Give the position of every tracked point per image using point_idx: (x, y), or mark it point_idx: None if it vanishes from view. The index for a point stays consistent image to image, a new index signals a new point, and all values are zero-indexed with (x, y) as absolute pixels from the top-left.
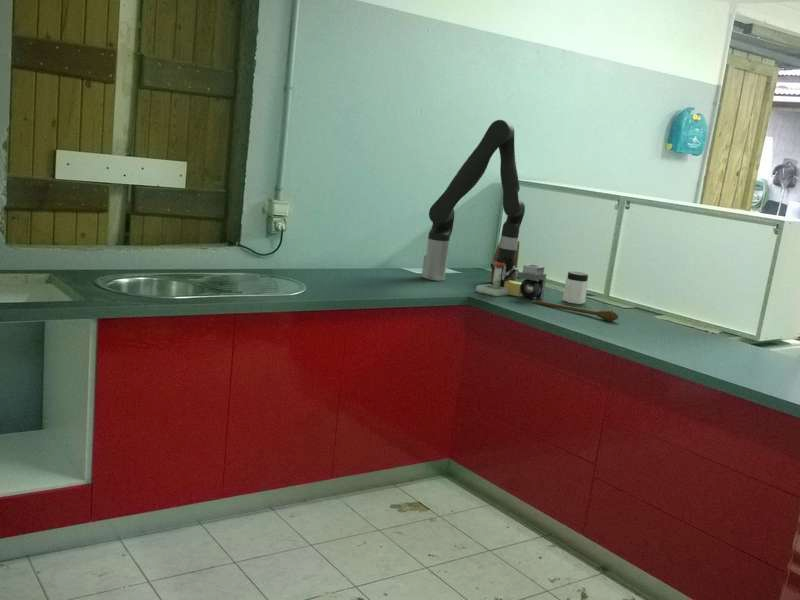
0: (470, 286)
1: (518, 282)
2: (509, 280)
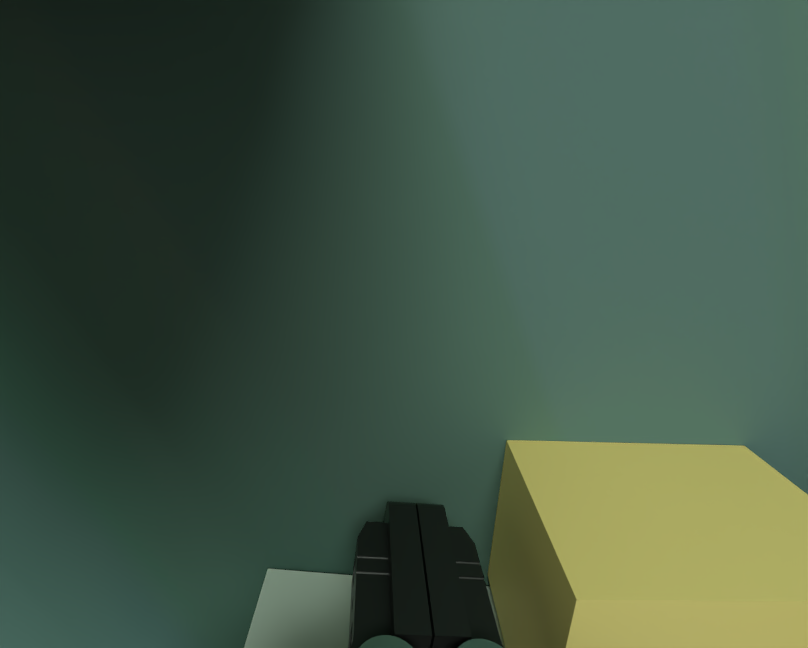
0: (7, 596)
1: (792, 639)
2: (571, 622)
